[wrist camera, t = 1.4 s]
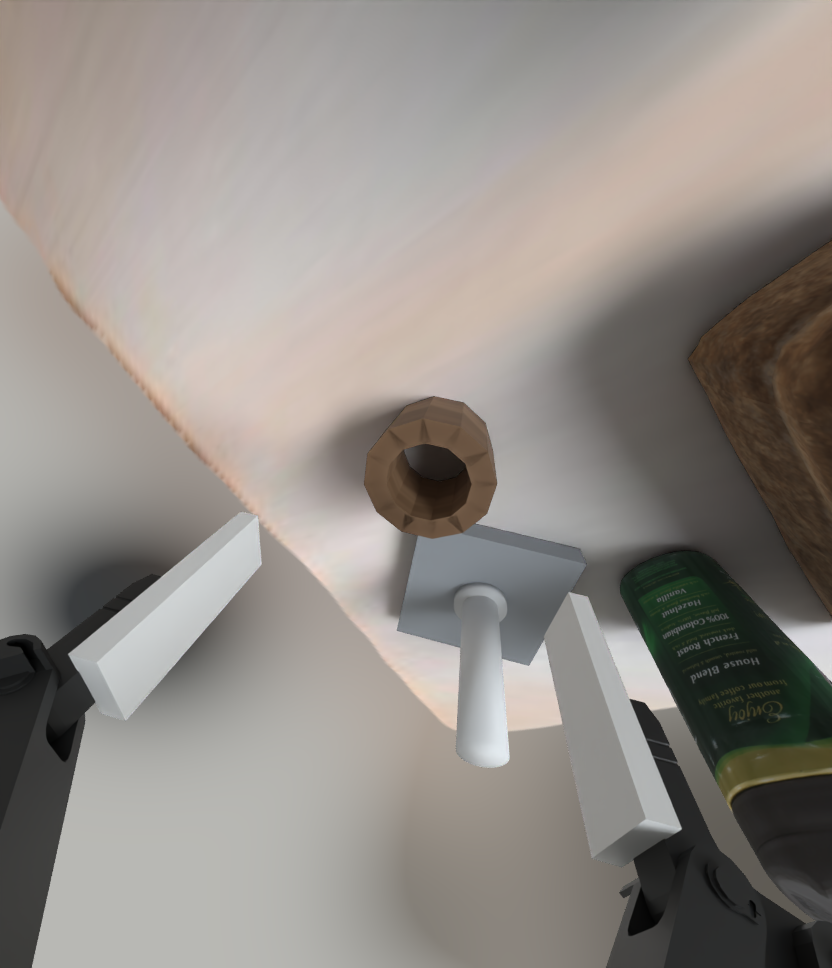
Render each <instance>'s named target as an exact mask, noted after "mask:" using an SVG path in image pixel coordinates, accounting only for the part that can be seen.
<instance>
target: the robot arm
mask: <svg viewBox="0 0 832 968" xmlns="http://www.w3.org/2000/svg"><path fill="white" fill-rule="evenodd" d="M261 564H262V563H261V551H260V537H259V524H258V516H257V515H253V514H249V513H245V512H240V513H239V514H237V515H236V516H235V517H234V518H232V519H231V520H230V521H229V522H228V523H226V524H225V525H224V526H223V527H221V528H220V529H219V530H218V531H217V532H215V533H214V534H213V535H212V536H211V537H209V538H208V539H207V540H206V541H205V542H203V543H202V544H201V545H200V546H199V547H197V548H196V549H195V550H194V551H193V552H191V553H190V554H189V555H188V556H186V557H185V558H184V559H183V560H182V561H180V562H179V563H178V564H177V565H176V566H174V567H173V568H172V569H171V570H169V571H168V572H167V573H166V574H165V575H163V576H162V577H161V576H157V575H153V574H151V575H149V576H147V577H145V578H143V579H141V580H139V581H137V582H135V583H133V584H131V585H130V586H129V587H127V588H126V589H125V590H123V592H121V593H120V594H118V595H117V597H116V598H115V599H112V600H111V601H109V602H108V603H107V604H105V605H104V606H103V608H102V609H99V610H98V611H96V612H95V613H94V614H93V615H91V616H90V617H89V618H87V619H86V620H85V621H83V622H82V623H81V624H80V625H79V626H77V627H76V628H74V629H73V630H72V631H71V632H69V633H68V634H67V635H65V636H64V637H63V638H62V639H61V640H59V641H58V642H56V643H55V644H54V645H53V646H51V647H50V648H49V649H47V650H46V648H45V647H44V645H43V643H42V641H41V640H40V639H39V638H38V637H36V636H34V635H28V634H23V635H15V636H9V637H7V638H4V639H1V640H0V968H32V963H33V959H34V954H35V950H36V945H37V940H38V936H39V931H40V927H41V922H42V918H43V913H44V908H45V904H46V899H47V895H48V890H49V886H50V881H51V876H52V872H53V867H54V863H55V858H56V853H57V849H58V844H59V839H60V835H61V830H62V825H63V821H64V817H65V812H66V807H67V803H68V798H69V793H70V789H71V785H72V780H73V775H74V771H75V766H76V761H77V757H78V753H79V748H80V743H81V739H82V734H83V730H84V725H85V712H86V711H87V710H88V709H89V708H90V707H91V706H92V705H93V704H94V703H95V704H96V705H97V707H98V709H99V711H100V713H101V714H104V715H107V716H111V717H114V718H117V719H121V720H124V721H126V720H127V718H129V716H130V715H131V714H132V713H133V712H134V711H135V710H136V708H137V707H138V706H139V705H140V704H141V703H142V702H143V700H144V699H145V698H146V697H147V696H148V695H149V693H150V692H151V691H152V690H153V689H154V688H155V687H156V685H157V684H158V683H159V682H160V681H161V680H162V679H163V677H164V676H165V675H166V674H167V673H168V672H169V670H170V669H171V668H172V667H173V666H174V664H176V662H177V661H178V660H179V659H180V658H181V657H182V655H183V654H184V653H185V652H186V651H187V650H188V648H189V647H190V646H191V645H192V644H193V643H194V641H195V640H196V639H197V638H198V637H199V636H200V635H201V633H202V632H203V631H204V630H205V629H206V628H207V627H208V625H209V624H210V623H211V622H212V621H213V620H214V619H215V617H216V616H217V615H218V614H219V613H220V612H221V610H222V609H223V608H224V607H225V606H226V605H227V604H228V602H229V601H230V600H231V599H232V598H233V597H234V595H235V594H236V593H237V592H238V591H239V590H240V588H241V587H242V586H243V585H244V584H245V583H246V582H247V580H248V579H249V578H250V577H251V576H252V575H253V574H254V572H255V571H256V570H257V569H258V568H259V567H260V565H261ZM544 640H545V644H546V649H547V653H548V658H549V663H550V667H551V672H552V677H553V681H554V686H555V691H556V695H557V700H558V704H559V709H560V714H561V718H562V723H563V727H564V732H565V736H566V741H567V746H568V751H569V755H570V760H571V765H572V769H573V773H574V778H575V782H576V787H577V792H578V797H579V802H580V806H581V811H582V815H583V820H584V825H585V829H586V834H587V838H588V843H589V848H590V852H591V857H592V859H595V860H598V861H602V862H605V863H609V864H612V865H616V866H619V867H623V866H625V865H626V864H628V863H629V862H631V861H633V860H634V863H635V867H636V870H637V873H638V876H639V878H637V879H635V880H634V881H632V882H630V883H628V884H627V885H625V886H624V887H623V888H622V890H621V891H620V892H619V893H620V894H621V895H622V897H623V898H625V897H627V896H629V895H630V897H629V900H628V903H627V907H626V909H625V912H624V915H623V918H622V921H621V924H620V927H619V930H618V933H617V936H616V939H615V942H614V945H613V948H612V951H611V954H610V957H609V960H608V963H607V966H606V968H832V923H830V922H828V921H818V920H817V921H814V922H810V923H807V924H806V923H804V922H802V921H801V920H799V919H798V918H796V917H795V916H793V915H792V914H790V913H789V912H787V911H786V910H784V909H783V908H781V907H780V906H778V905H777V904H775V903H774V902H772V901H771V900H769V899H768V898H766V897H765V896H763V895H762V894H760V893H759V892H758V891H756V890H755V889H754V888H753V887H752V886H751V884H750V883H749V881H748V879H747V878H746V876H745V875H744V874H743V873H742V871H741V870H740V869H739V868H738V867H737V866H736V865H735V864H734V862H733V861H732V860H731V859H730V858H728V857H727V856H726V855H724V854H723V853H722V852H721V851H720V850H719V849H718V847H717V845H716V843H715V842H714V840H713V838H712V836H711V834H710V832H709V830H708V827H707V825H706V823H705V821H704V819H703V816H702V814H701V812H700V810H699V808H698V806H697V803H696V801H695V799H694V797H693V795H692V792H691V790H690V788H689V786H688V784H687V781H686V779H685V777H684V775H683V773H682V771H681V768H680V766H678V765H677V759H676V757H675V755H674V753H673V751H672V749H671V748H670V747H669V742H668V740H667V738H666V735H665V733H664V731H663V729H662V727H661V724H660V723H659V721H658V720H657V718H656V717H655V716H654V714H653V713H652V712H651V710H650V709H649V708H648V706H647V705H646V704H645V703H643V702H640V701H636V700H632V699H629V697H628V694H627V692H626V690H625V687H624V685H623V682H622V680H621V677H620V675H619V672H618V670H617V667H616V665H615V662H614V660H613V657H612V655H611V652H610V650H609V648H608V645H607V643H606V640H605V638H604V635H603V633H602V630H601V628H600V625H599V623H598V620H597V618H596V615H595V613H594V611H593V608H592V606H591V603H590V601H589V598H588V597H587V596H583V595H579V594H575V593H571V592H568V594H567V596H566V597H565V599H564V601H563V603H562V605H561V606H560V608H559V610H558V612H557V613H556V615H555V617H554V619H553V621H552V622H551V624H550V626H549V628H548V630H547V631H546V633H545V635H544Z"/></svg>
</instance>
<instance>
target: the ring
mask: <svg viewBox="0 0 832 968" xmlns="http://www.w3.org/2000/svg"><path fill="white" fill-rule="evenodd" d="M424 443H425V444H430V445H434V446H439V447H443V448H447V449H449V450H450V451H451V452H452V453H454V454H455V455H456V456H457V457H458V458H459V459H460V460H462V461H463V462H464V463H465V464H466V467H467V468H465V469H464V470H463V471H462V472H461V473H460V474H459V475H458V476H457V477H456V478H452V479H448V480H443V481H435V480H431V479H426V478H423V477H421V476H420V475H419V474H418V473H417V472H416V471H414V470H413V469H412V468H411V467H410V466H409V463H408V461H407V458H406V455H405V453H404V449H407V448H410V447H414V446H417V445H421V444H424ZM364 485H365V488H366V490H367V492H368V494H369V496H370V498H371V501H372V503H373V505H374V507H375V509H376V511H377V513H379V514H380V515H381V516H382V517H384V518H385V519H386V520H388V521H389V522H390V523H391V524H393V525H394V526H395V527H396V528H398V529H399V530H400V531H401V532H406V533H410V534H414V535H418V536H422V537H426V538H430V539H435V538H440V537H445V536H450V535H455V534H460V533H464V532H465V531H466V530H467V529H469V528H470V527H471V526H472V525H474V524H475V523H476V522H477V521H478V520H480V519H481V518H482V517H483V516H485V515H486V514H487V512H488V509H489V506H490V503H491V500H492V497H493V494H494V492H495V489H496V486H497V479H496V471H495V463H494V455H493V449H492V445H491V442H490V438H489V434H488V431H487V427H486V423H485V422H484V421H483V420H482V419H481V418H480V417H479V416H478V415H476V414H475V413H474V412H473V411H472V410H471V409H470V408H469V407H468V406H467V405H466V404H465V403H463V402H458V401H453V400H449V399H444V398H440V397H435V396H434V397H431V398H428V399H425V400H422V401H419V402H416V403H413V404H410V405H407V406H406V407H405V408H404V409H403V411H402V412H401V413H400V414H399V415H398V417H397V418H396V419H395V420H394V421H393V423H392V424H391V425H390V426H389V427H388V428H387V430H386V431H385V432H384V433H383V435H382V436H381V437H380V438H379V440H378V441H377V442H376V443H375V445H374V446H373V447H372V449H371V450H370V451H369V452H368V454H367V462H366V471H365V480H364Z"/></svg>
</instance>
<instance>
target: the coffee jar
mask: <svg viewBox="0 0 832 968" xmlns="http://www.w3.org/2000/svg"><path fill="white" fill-rule="evenodd" d="M620 593H621V595H622V598H623V600H624V602H625V604H626V606H627V608H628V610H629V612H630V614H631V616H632V618H633V620H634V622H635V624H636V626H637V628H638V630H639V632H640V633H641V635H642V637H643V639H644V641H645V643H646V645H647V647H648V649H649V651H650V653H651V655H652V657H653V659H654V661H655V663H656V665H657V667H658V669H659V671H660V673H661V675H662V677H663V679H664V681H665V683H666V685H667V687H668V689H669V691H670V693H671V695H672V697H673V699H674V701H675V703H676V705H677V707H678V709H679V711H680V712H681V714H682V716H683V718H684V720H685V722H686V724H687V726H688V728H689V730H690V732H691V734H692V736H693V738H694V740H695V742H696V744H697V745H698V747H699V750H700V751H701V753H702V755H703V757H704V759H705V761H706V763H707V765H708V767H709V769H710V771H711V772H712V774H713V776H714V778H715V780H716V782H717V784H718V786H719V788H720V790H721V792H722V794H723V796H724V797H725V799H726V801H727V804H728V806H729V808H730V810H731V812H732V813H733V814H734V817H735V819H736V820H737V822H738V824H739V826H740V828H741V829H742V831H743V833H744V835H745V836H746V838H747V840H748V842H749V843H750V845H751V847H752V849H753V850H754V852H755V854H756V856H757V858H758V859H759V861H760V863H761V865H762V867H763V869H764V870H765V872H766V873H767V875H768V876H769V878H770V879H771V880H772V881H773V883H774V884H775V885H776V886H777V888H778V889H779V890H780V891H781V892H782V893H783V894H784V895H785V896H786V897H787V898H788V899H789V900H791V901H792V902H793V903H794V904H795V905H796V906H798V907H799V908H800V909H801V910H802V911H803V912H804V913H806V914H807V915H808V916H810V917H811V918H813V919H814V920H816V921H817V920H818V921H828V922H830V923H832V682H831V681H830V680H829V679H828V678H827V677H826V676H825V675H824V674H823V673H822V672H821V671H820V670H819V669H818V668H817V667H816V665H815V664H814V663H813V662H812V661H811V660H810V659H809V658H808V657H807V656H806V655H805V654H804V653H803V652H802V651H801V650H800V649H799V648H798V647H797V646H796V645H795V644H794V643H793V642H792V641H791V640H790V639H789V638H788V637H787V636H786V635H785V634H784V633H783V631H782V630H781V629H780V628H779V627H778V626H777V625H776V624H775V623H774V622H773V621H772V620H771V619H770V618H769V617H768V616H767V615H766V614H765V613H764V612H763V611H762V610H761V608H760V607H759V606H758V605H757V604H756V603H755V602H754V601H753V600H752V599H751V598H750V596H749V595H748V594H747V593H746V592H745V591H744V590H743V589H742V588H741V587H740V586H739V585H738V584H737V583H736V582H735V581H734V580H733V579H732V578H731V576H730V575H729V574H728V573H727V572H726V571H725V570H724V569H723V568H722V567H721V566H720V565H719V564H718V563H717V562H716V561H715V560H714V559H712V558H711V557H709V556H707V555H706V554H703V553H700V552H696V551H678V552H674V553H670V554H664V555H661V556H658V557H655V558H652V559H650V560H648V561H646V562H644V563H642V564H640V565H638V566H637V567H636V568H634V569H633V570H631V571H630V572H629V573H628V574H627V575H626V576H625V577H624V578H623V580H622V581H621V585H620Z"/></svg>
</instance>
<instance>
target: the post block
mask: <svg viewBox="0 0 832 968" xmlns="http://www.w3.org/2000/svg"><path fill="white" fill-rule="evenodd" d="M586 565H587V563H586V561H585V559H584V557H583V554H582V552H581V550H580V549H578V548H574V547H570V546H566V545H562V544H557V543H553V542H549V541H545V540H541V539H537V538H532V537H528V536H524V535H520V534H516V533H512V532H507V531H503V530H499V529H495V528H491V527H487V526H482V525H478V524H474V525H472V526H471V527H470V528H469V529H467V530H466V531H465V532H464V533H460V534H455V535H450V536H445V537H440V538H435V539H430V538H426V537H422V536H418V538H417V542H416V547H415V551H414V556H413V560H412V565H411V569H410V574H409V578H408V583H407V587H406V592H405V596H404V601H403V605H402V610H401V614H400V619H399V623H398V628H397V631H400V632H403V633H407V634H411V635H415V636H418V637H422V638H426V639H430V640H434V641H437V642H441V643H445V644H449V645H452V646H456V647H460V648H461V649H460V671H459V692H458V714H457V736H456V752H457V754H458V756H459V757H460V758H461V759H463V760H464V761H466V762H468V763H470V764H473V765H476V766H481V767H499V766H502V765H504V764H506V763H507V762H508V760H509V745H508V732H507V718H506V705H505V692H504V679H503V666H502V659H505V660H509V661H513V662H517V663H520V664H524V665H528V666H529V665H530V663H531V661H532V660H533V658H534V656H535V654H536V653H537V651H538V649H539V647H540V646H541V644H542V642H543V640H544V635H545V633H546V631H547V630H548V628H549V626H550V624H551V622H552V621H553V619H554V617H555V615H556V613H557V612H558V610H559V608H560V606H561V605H562V603H563V601H564V599H565V597H566V596H567V594H568V592H571V591H572V590H573V588H574V586H575V584H576V583H577V581H578V579H579V577H580V576H581V574H582V572H583V570H584V569H585V567H586Z"/></svg>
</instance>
